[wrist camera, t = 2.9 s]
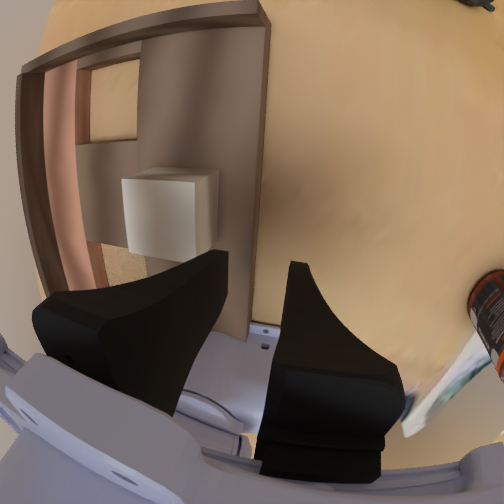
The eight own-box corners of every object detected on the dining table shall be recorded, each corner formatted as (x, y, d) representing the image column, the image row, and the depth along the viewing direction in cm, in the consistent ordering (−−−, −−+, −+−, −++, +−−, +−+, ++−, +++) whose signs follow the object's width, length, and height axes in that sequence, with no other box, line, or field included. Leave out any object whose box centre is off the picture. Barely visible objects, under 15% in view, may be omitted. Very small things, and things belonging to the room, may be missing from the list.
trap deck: (271, 23, 15) (256, -4, 10) (249, 339, 27) (236, 378, 22) (54, 66, 19) (18, 66, 14) (78, 293, 31) (53, 316, 26)
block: (218, 170, 18) (194, 182, 15) (217, 239, 21) (196, 264, 17) (154, 167, 19) (121, 178, 16) (157, 230, 21) (128, 252, 18)
